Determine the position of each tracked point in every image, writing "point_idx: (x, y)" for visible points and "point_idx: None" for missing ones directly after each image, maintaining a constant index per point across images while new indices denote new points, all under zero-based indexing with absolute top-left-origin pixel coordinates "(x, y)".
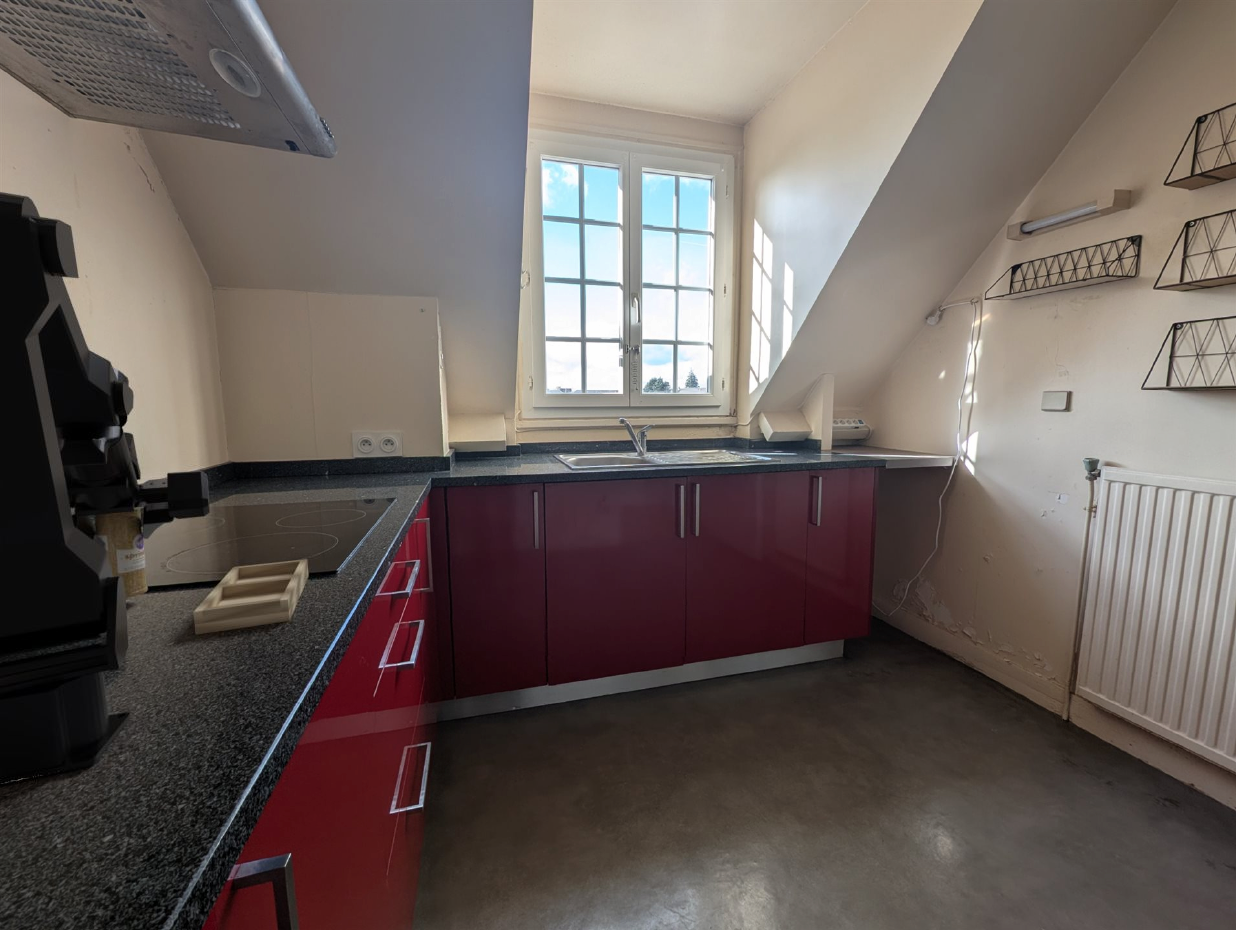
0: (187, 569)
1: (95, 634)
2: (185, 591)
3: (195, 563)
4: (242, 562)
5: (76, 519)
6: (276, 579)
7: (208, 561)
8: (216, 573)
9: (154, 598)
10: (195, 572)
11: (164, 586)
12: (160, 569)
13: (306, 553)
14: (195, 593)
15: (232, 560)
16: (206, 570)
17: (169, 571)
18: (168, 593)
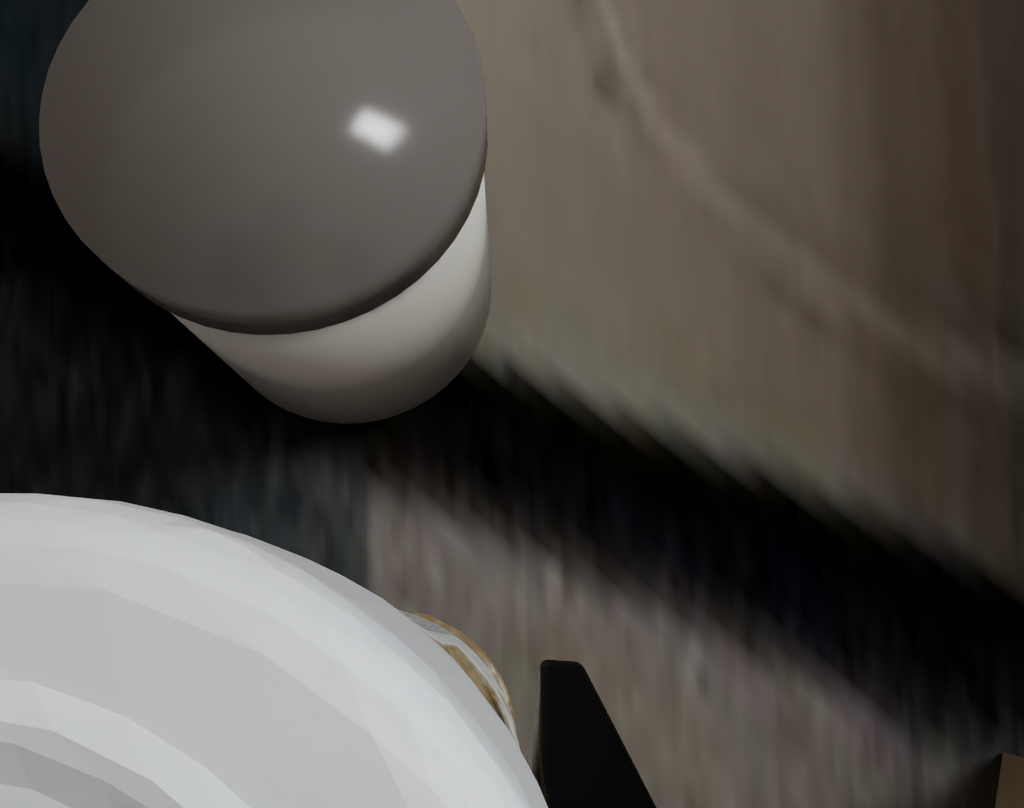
0: (702, 117)
1: None
2: (708, 666)
3: (741, 3)
4: (1013, 167)
5: None
6: None
7: (811, 4)
8: (870, 339)
9: None
10: (749, 223)
11: (590, 440)
12: (561, 14)
13: None
14: (767, 769)
15: (949, 74)
16: (809, 219)
17: (608, 95)
18: (616, 636)
